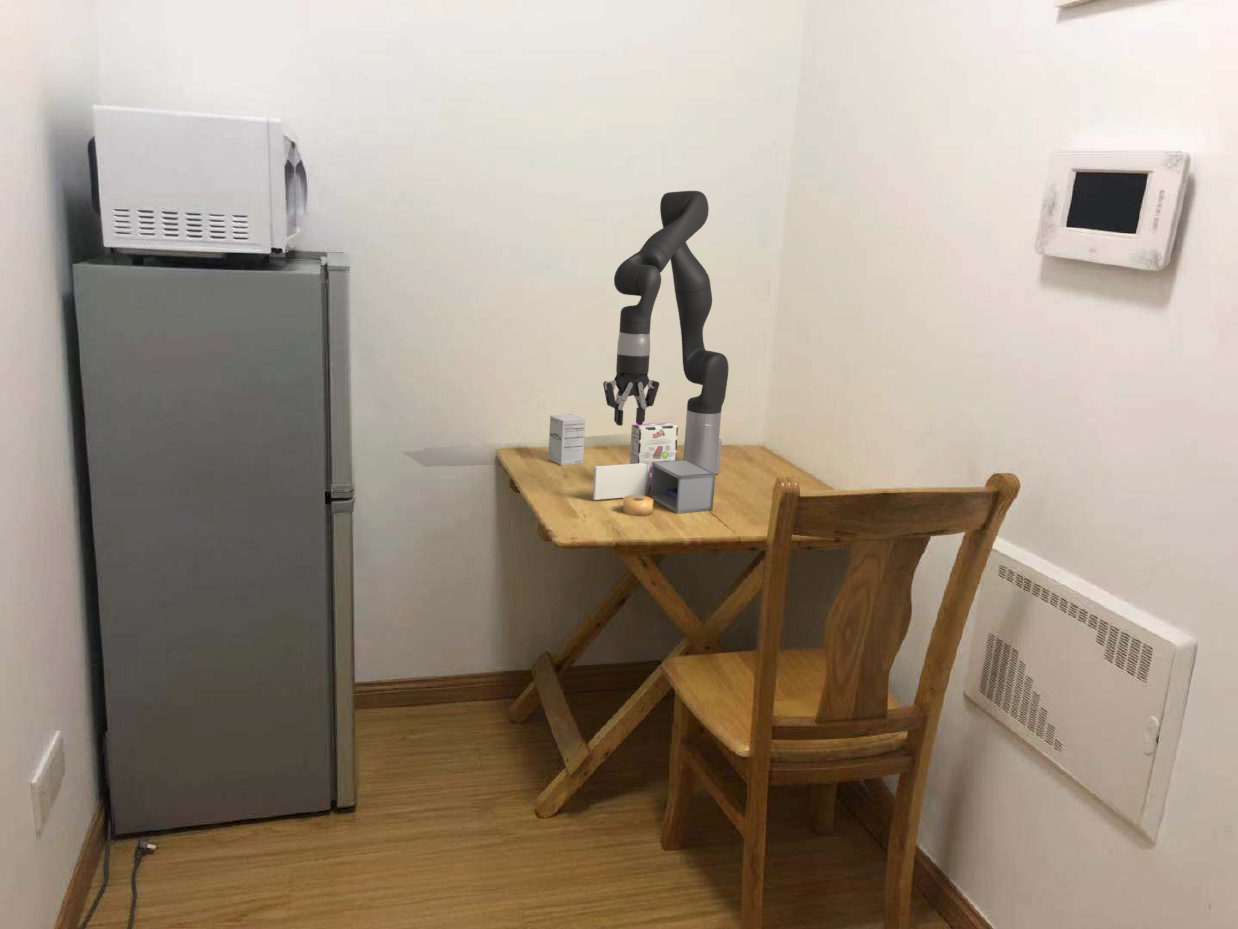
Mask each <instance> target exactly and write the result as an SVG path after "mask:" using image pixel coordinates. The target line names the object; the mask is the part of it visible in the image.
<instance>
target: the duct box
mask: <svg viewBox="0 0 1238 929" xmlns="http://www.w3.org/2000/svg"><path fill="white" fill-rule="evenodd" d="M716 475H717V474H715V473H713V472H711V471H709V470H707V469H705V468H702V467H700V466H698V465H696V464H694V463H692V462H690V461H688V460H683V459H678V460H677V459H676V460H673V461H657V462H652V476H651V490H649V491H650V492H649V497H651V498H653V501H655V502H657V503H659V504H661V505H662V506H663V507H666V508H667V509H669V510H671V511H672V512H674V513H676V514H688V513H699V512H708V511H709V512H711V511H713V508H714V496H715V485H716V483H715V482H716Z"/></svg>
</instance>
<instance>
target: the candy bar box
mask: <svg viewBox="0 0 1238 929" xmlns="http://www.w3.org/2000/svg"><path fill="white" fill-rule="evenodd" d="M678 431H679V426H678V424H677V425H676V424H674V423H672V422H667V421H666V422H654V423H653V422H651V423H643V424H642V425H639V424H637V423H635V424H632V425H631V434H630V435H631V436H630V458H629V464H639V463H650V464H651V465H650V480H649V491H651V476H652V462H657V461H673V460H677V450H678V433H679V432H678Z"/></svg>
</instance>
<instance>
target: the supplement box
mask: <svg viewBox="0 0 1238 929" xmlns="http://www.w3.org/2000/svg"><path fill="white" fill-rule="evenodd" d="M585 433H586V419H585V418H582V417H580V416H577V415H575V414H573V413H566V414H565V413H564V414H563V413H562V414H552V415H550V416H549V436H548V437H549V439H548V456H547V457H548V461H549V460H550V461H552V462H554V463H556V464H558V465H560V466H571V465H580V464H579V463H581V464H583V463H584V456H585V455H584V454H585V452H584V450H585ZM577 463H578V464H577ZM569 464H570V465H569Z"/></svg>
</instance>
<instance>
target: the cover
mask: <svg viewBox="0 0 1238 929" xmlns="http://www.w3.org/2000/svg"><path fill="white" fill-rule="evenodd" d="M650 465H651V464H650V463H639V464H630V463H628V464H614V465H613V464H612V465H596V466H594V470H593V472H594V473H593V491H592V492H593V493H592V499H593V500H595V501H596V500H607V499H609V500H610V499H620V498H622V499H623V498H624V497H626V496H630V495H641V496H647V497H649V496H650V492H649V491H650V490H649V480H650Z"/></svg>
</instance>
